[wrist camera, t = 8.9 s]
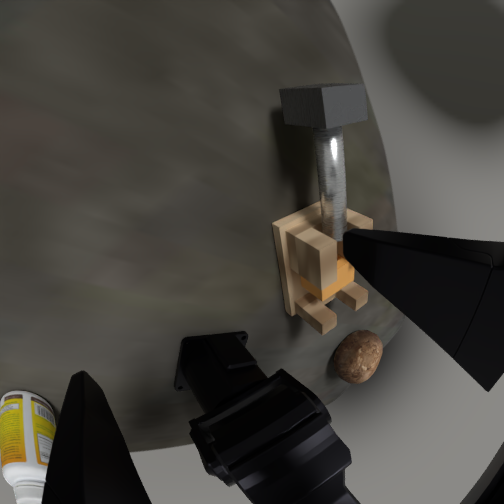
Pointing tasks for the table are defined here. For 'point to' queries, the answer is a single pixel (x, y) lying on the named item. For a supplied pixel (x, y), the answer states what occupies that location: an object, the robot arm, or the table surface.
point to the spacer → (343, 278)
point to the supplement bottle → (26, 443)
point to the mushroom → (358, 356)
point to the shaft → (327, 140)
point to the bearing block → (314, 265)
